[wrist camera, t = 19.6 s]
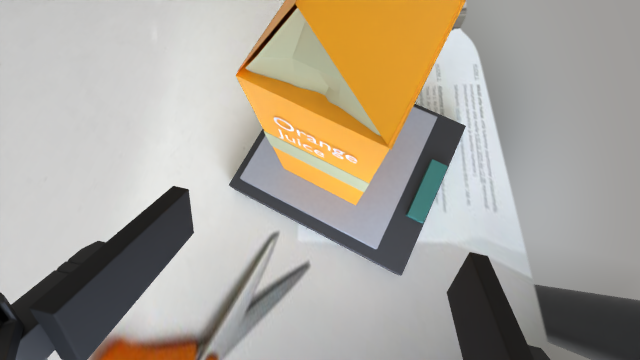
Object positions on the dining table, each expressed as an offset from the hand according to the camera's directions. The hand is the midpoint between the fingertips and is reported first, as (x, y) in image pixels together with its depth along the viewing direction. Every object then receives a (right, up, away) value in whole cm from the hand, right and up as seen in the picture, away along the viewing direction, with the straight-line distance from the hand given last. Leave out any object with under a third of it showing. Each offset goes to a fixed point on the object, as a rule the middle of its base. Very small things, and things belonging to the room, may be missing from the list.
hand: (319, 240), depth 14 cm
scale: (+3, +5, +16) cm, 17 cm away
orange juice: (+2, +6, +14) cm, 15 cm away
